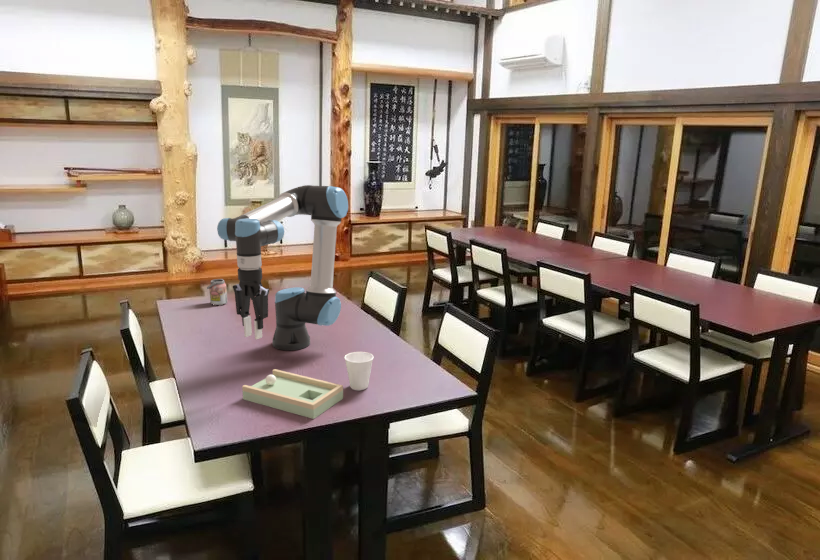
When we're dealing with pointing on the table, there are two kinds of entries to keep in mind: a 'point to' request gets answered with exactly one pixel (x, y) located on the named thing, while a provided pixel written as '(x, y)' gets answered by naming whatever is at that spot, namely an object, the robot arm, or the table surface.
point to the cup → (359, 369)
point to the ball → (270, 379)
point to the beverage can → (218, 292)
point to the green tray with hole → (295, 394)
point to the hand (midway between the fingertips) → (253, 336)
